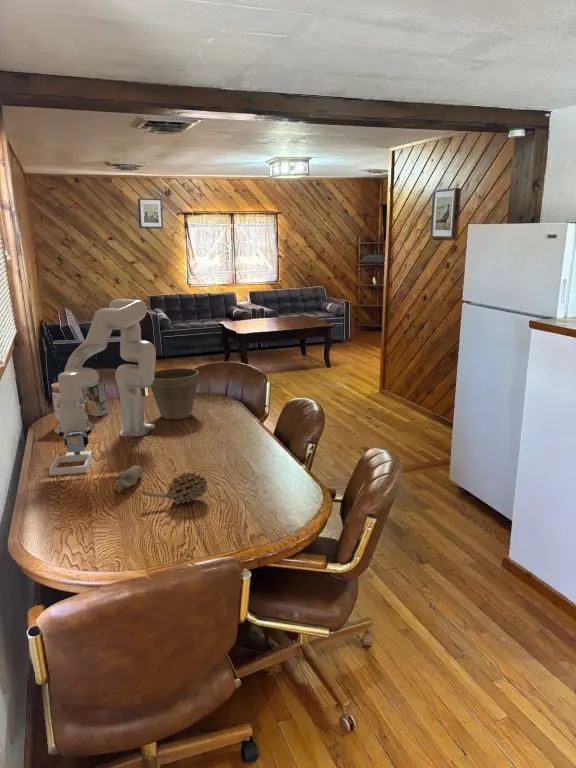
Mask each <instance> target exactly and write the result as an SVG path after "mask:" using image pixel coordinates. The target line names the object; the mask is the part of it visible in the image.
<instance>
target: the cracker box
mask: <svg viewBox="0 0 576 768" xmlns="http://www.w3.org/2000/svg"><path fill="white" fill-rule="evenodd" d="M50 386H51V393H52V401H53V407H54V408H53V409H54V416H55V425H56V426H57V425H59V424H60V407H61V406H62V405H61V398H60V391H59V383H58V382H54V383H52V384H50ZM80 392H81V397H82V399H83V400H84V390H83V388H81V389H80ZM83 404H84V405H85V403H83Z"/></svg>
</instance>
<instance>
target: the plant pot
mask: <svg viewBox="0 0 576 768" xmlns="http://www.w3.org/2000/svg"><path fill="white" fill-rule="evenodd" d="M199 382H200V372H199V370H197V369H194V368H187V367H178V368H177V367H176V368H175V367H174V368H164V369H159V370H155V377H154V381H153V384H152V385H151V386H150V387H149V388H150V390H151V391H152V395H153V397H154V400H155V403H156V406H157V409H158V412H159V414H160V416H161V418H162V417H163V419H164V418H165V419H164V420H170V419H176V420H182V419H185V418H189V417H191V415H192V412H193V408H194V402H195V398H196V393H197V387H198V383H199Z"/></svg>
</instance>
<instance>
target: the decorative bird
mask: <svg viewBox="0 0 576 768" xmlns="http://www.w3.org/2000/svg"><path fill="white" fill-rule="evenodd" d="M142 473H143V470H142V468H141V466H140V465H137V464H135V465H133V466H131V467H130V468H128V469H125V470H123V471H122V472H120V473H119V474H117V475H116V482H117V486H116V489H114V492H113V494H116V496H117V495H118V494H119V492H118V489H119V487H120V488H122V489H121V492H122V493H120V495H122V494H123V495H127V493H126V492H125V491H126V489H128V488H130V487H132V486H133V485H136V484H137V482H138V479H141V477H142Z"/></svg>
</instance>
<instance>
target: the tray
mask: <svg viewBox="0 0 576 768" xmlns="http://www.w3.org/2000/svg"><path fill="white" fill-rule="evenodd" d="M92 461H93V453H91V454H82V455H68V456H65V455H57V456H56V457H55V458H54V460H53V462H52V464H51V465H50V467H49V468H48V473H49V476H56V475H58V476H59V475H60V476H61V475H69V474H70V476H71V477H76V476H75V475H76V474H82V475H84V476H88V473H87V472H88V469H89V467H90V465H91V463H92ZM71 462H72V463H74V462H84V464H83V465H76V466H63V467H61V466H60V467H59V465H60V463H71ZM84 473H87V474H84ZM71 474H73V475H71Z"/></svg>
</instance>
